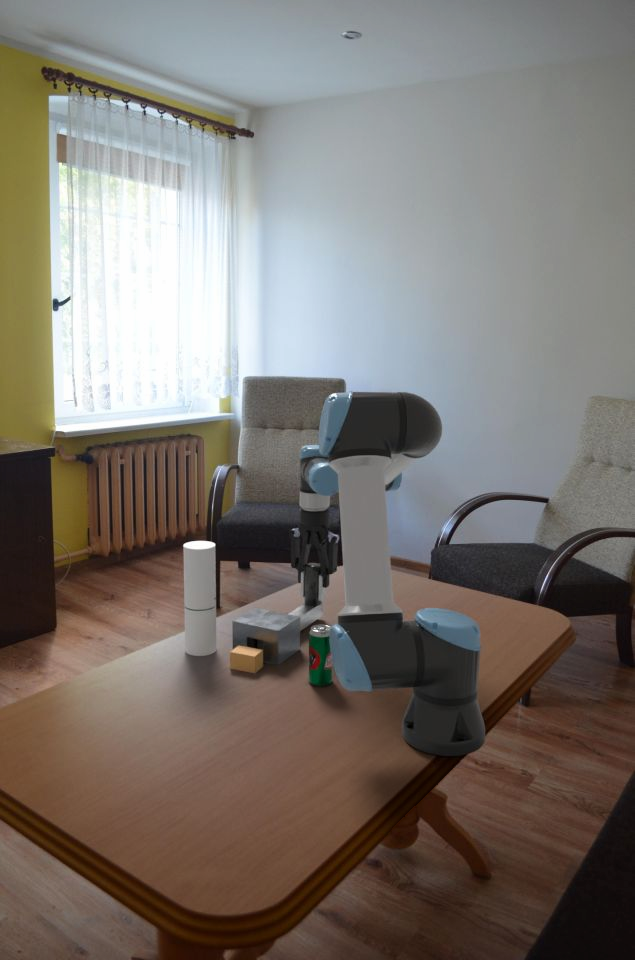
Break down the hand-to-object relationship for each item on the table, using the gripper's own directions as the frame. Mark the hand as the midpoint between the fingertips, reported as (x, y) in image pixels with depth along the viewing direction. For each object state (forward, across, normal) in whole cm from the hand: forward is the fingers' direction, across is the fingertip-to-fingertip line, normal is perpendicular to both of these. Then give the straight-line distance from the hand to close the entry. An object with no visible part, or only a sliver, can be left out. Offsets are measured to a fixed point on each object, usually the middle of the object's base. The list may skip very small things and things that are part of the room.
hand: (313, 597), depth 202 cm
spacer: (+4, 0, +30) cm, 31 cm away
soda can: (+6, -18, +31) cm, 36 cm away
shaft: (+5, 0, +11) cm, 12 cm away
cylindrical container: (+6, +14, +29) cm, 33 cm away
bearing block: (+6, 0, +23) cm, 24 cm away
